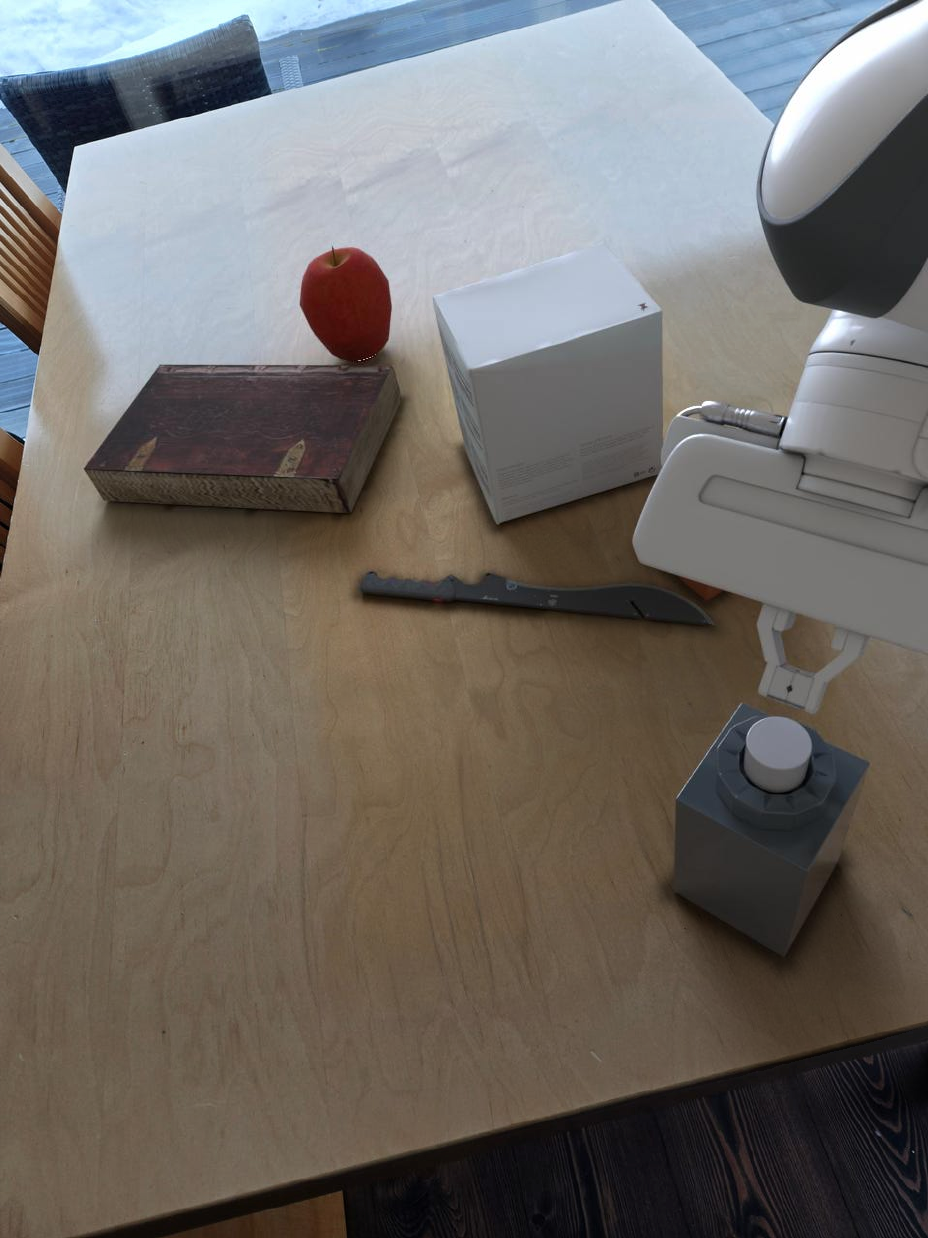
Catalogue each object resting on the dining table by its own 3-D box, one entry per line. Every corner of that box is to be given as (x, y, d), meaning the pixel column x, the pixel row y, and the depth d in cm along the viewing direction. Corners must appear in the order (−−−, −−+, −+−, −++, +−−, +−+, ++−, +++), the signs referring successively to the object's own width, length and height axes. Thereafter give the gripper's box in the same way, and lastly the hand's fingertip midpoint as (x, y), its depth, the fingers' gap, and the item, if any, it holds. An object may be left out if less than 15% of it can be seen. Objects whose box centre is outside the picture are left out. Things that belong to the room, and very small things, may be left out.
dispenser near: (838, 861, 63) (876, 743, 52) (784, 958, 60) (812, 855, 48) (730, 803, 67) (743, 682, 56) (673, 891, 64) (675, 781, 52)
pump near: (817, 758, 52) (823, 733, 50) (789, 804, 51) (794, 780, 49) (760, 731, 54) (764, 706, 52) (732, 774, 53) (735, 750, 51)
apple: (387, 319, 115) (360, 211, 105) (416, 358, 109) (390, 247, 99) (310, 349, 114) (274, 242, 104) (334, 390, 108) (299, 281, 97)
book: (402, 398, 105) (392, 360, 101) (351, 516, 93) (338, 478, 90) (176, 394, 112) (159, 360, 109) (105, 503, 101) (83, 468, 98)
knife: (719, 593, 79) (720, 588, 79) (714, 631, 77) (715, 626, 76) (373, 561, 89) (371, 557, 88) (358, 594, 86) (357, 590, 86)
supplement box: (615, 398, 98) (608, 237, 85) (666, 475, 90) (667, 309, 76) (460, 446, 98) (427, 291, 84) (496, 529, 89) (466, 370, 75)
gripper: (660, 382, 47) (583, 640, 50) (1128, 485, 38) (1002, 795, 40) (695, 401, 53) (624, 633, 55) (1111, 496, 43) (1001, 768, 46)
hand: (787, 703), depth 48 cm, fingers closed
